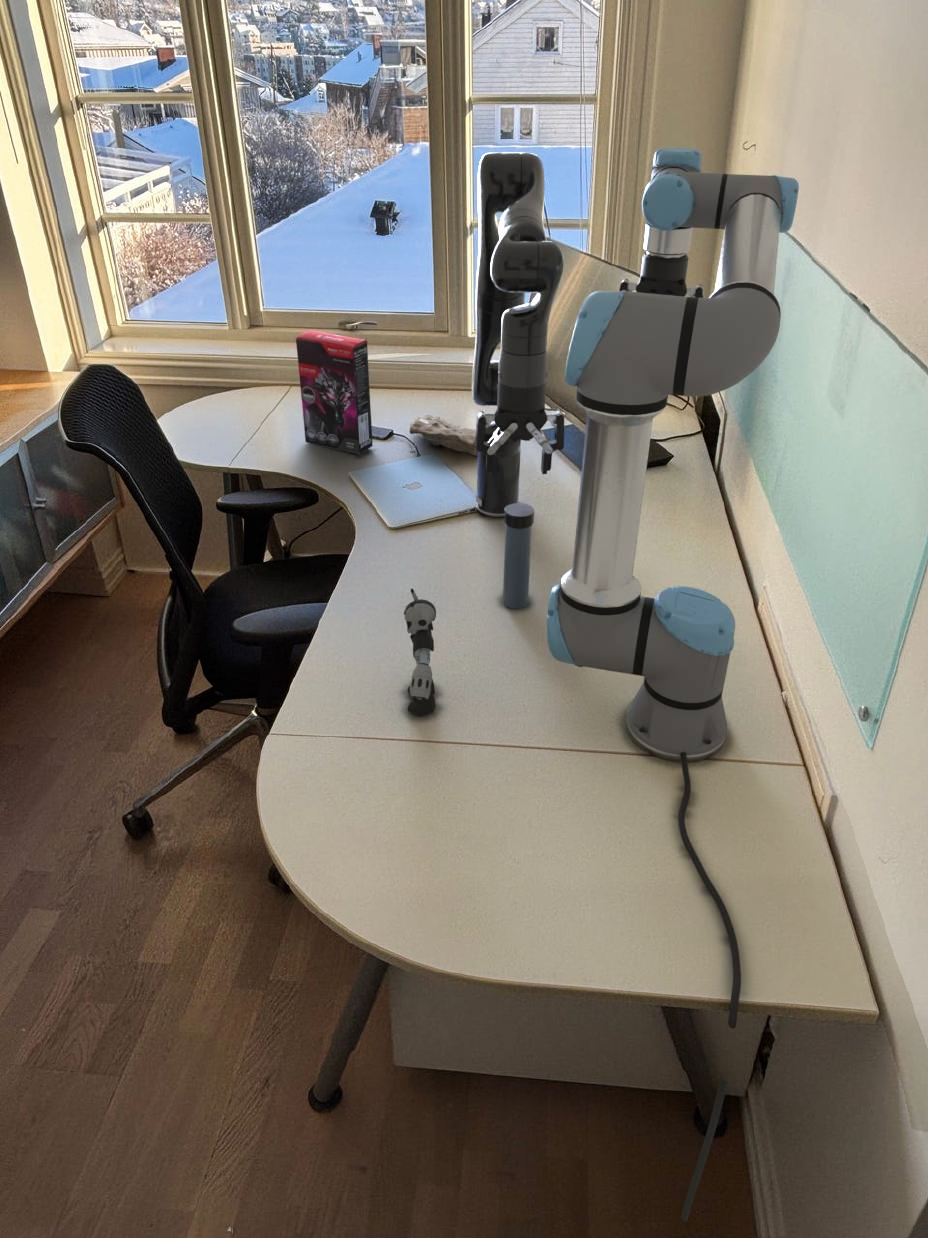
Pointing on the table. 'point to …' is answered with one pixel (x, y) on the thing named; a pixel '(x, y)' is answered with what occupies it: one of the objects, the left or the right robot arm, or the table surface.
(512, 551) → the blue-grey bottle
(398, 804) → the table surface
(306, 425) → the graphics card box
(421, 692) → the robot
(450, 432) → the stone
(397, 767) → the table surface
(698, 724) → the right robot arm
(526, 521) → the lid
